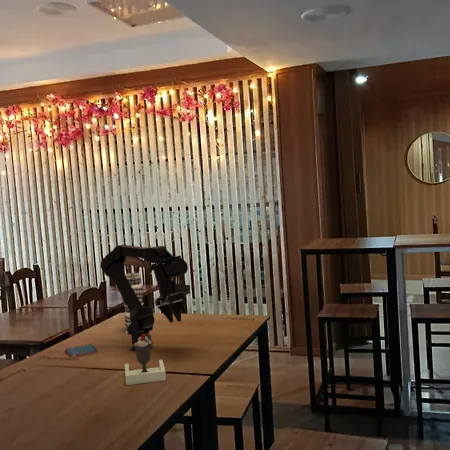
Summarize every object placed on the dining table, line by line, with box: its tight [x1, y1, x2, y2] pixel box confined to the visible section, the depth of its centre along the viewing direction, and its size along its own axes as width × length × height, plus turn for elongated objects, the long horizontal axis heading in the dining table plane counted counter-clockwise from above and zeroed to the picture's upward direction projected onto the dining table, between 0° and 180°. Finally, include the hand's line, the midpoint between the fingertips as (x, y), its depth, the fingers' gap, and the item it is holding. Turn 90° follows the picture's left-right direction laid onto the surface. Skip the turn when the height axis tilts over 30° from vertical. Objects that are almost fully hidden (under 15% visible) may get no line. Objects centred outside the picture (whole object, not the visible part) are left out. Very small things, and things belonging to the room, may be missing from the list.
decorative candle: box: [122, 272, 145, 335], centre depth 243 cm, size 9×9×25 cm
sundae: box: [131, 330, 154, 373], centre depth 184 cm, size 7×7×15 cm
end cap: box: [124, 359, 167, 386], centre depth 184 cm, size 12×12×3 cm
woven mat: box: [64, 343, 99, 359], centre depth 216 cm, size 10×11×2 cm
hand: (175, 321), depth 205 cm, fingers open, 9 cm apart
